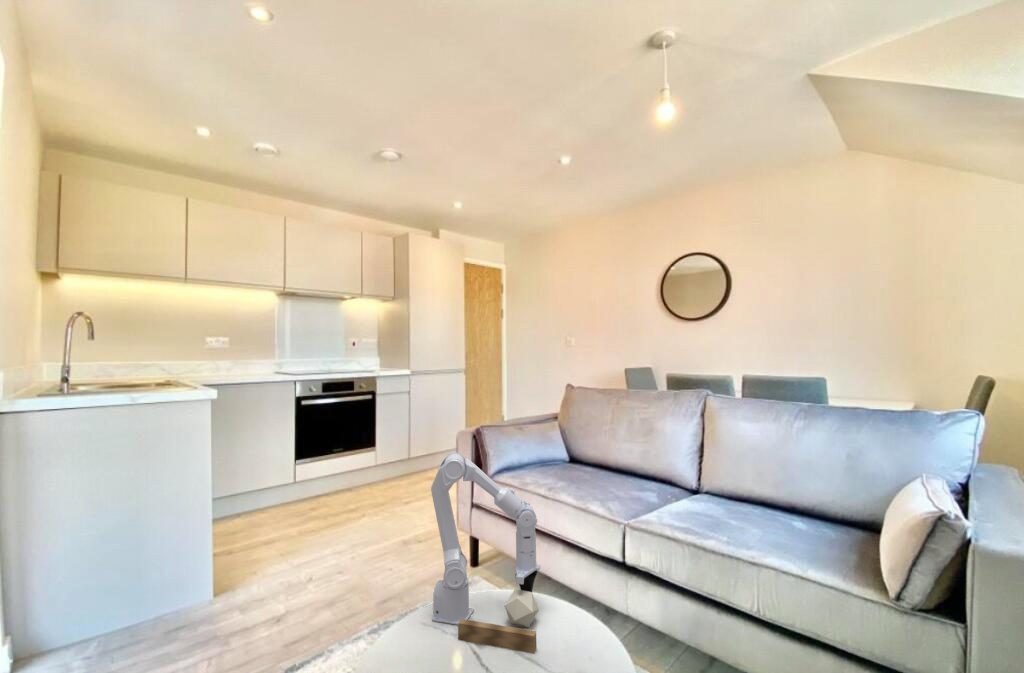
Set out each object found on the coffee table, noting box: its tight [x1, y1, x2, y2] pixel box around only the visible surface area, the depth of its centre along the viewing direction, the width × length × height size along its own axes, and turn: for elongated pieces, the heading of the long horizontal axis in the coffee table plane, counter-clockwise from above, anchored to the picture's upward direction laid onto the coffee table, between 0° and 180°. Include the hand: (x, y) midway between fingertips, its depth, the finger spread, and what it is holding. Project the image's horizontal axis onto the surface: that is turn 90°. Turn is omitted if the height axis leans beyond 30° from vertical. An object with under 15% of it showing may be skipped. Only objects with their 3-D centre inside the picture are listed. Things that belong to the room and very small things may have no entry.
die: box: [503, 588, 540, 628], centre depth 117 cm, size 8×9×10 cm
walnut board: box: [457, 619, 537, 654], centre depth 108 cm, size 20×2×4 cm, turn 73°
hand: (526, 598), depth 123 cm, fingers closed
